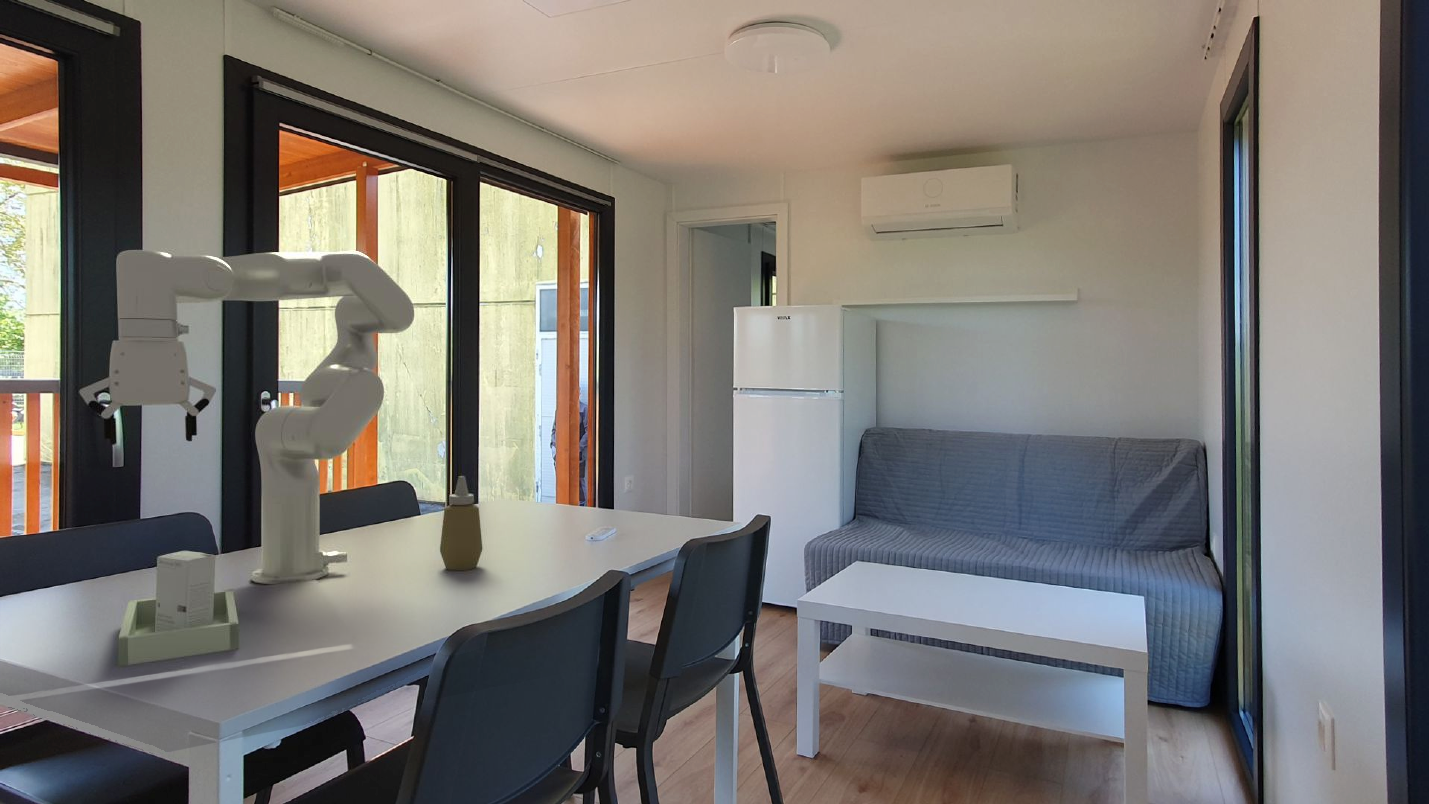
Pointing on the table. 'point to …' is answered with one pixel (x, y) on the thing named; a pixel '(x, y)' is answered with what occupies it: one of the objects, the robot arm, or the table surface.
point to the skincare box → (184, 590)
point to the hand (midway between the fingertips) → (152, 442)
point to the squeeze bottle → (461, 530)
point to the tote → (176, 633)
